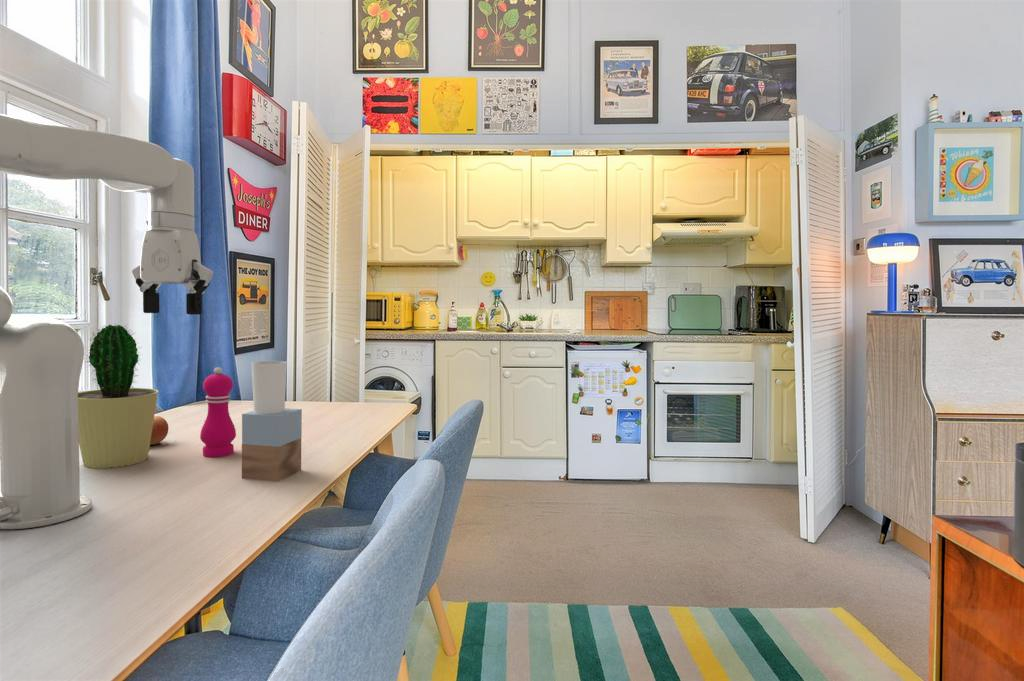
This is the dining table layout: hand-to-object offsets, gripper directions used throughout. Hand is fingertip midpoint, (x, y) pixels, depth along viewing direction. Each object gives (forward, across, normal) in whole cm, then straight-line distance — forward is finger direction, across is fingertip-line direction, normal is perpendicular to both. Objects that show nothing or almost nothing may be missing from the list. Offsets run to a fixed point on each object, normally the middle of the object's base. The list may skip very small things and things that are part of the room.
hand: (172, 313), depth 107 cm
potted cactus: (+32, -20, +6) cm, 39 cm away
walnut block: (+32, +17, +7) cm, 37 cm away
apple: (+33, -25, +19) cm, 45 cm away
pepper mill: (+32, -4, +17) cm, 37 cm away
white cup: (+20, +16, +7) cm, 26 cm away
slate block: (+25, +17, +7) cm, 31 cm away
